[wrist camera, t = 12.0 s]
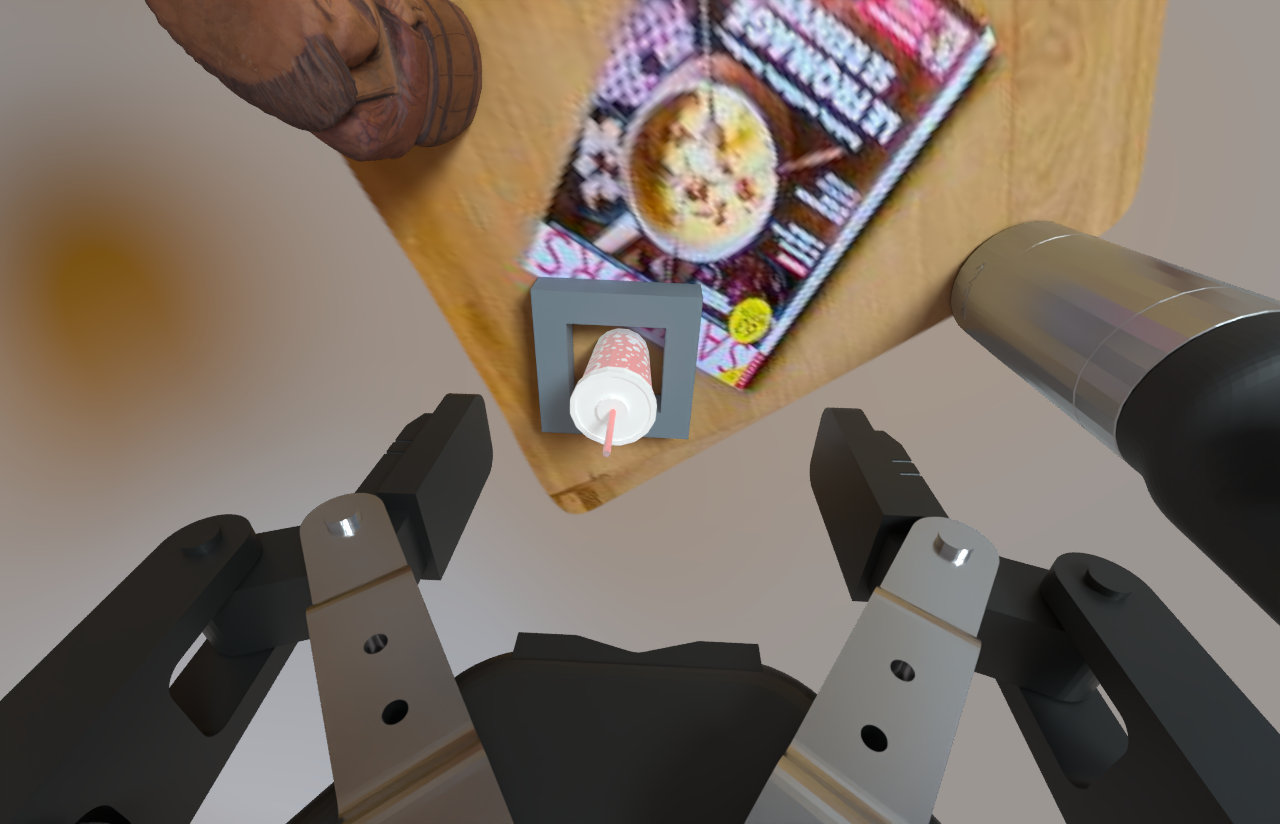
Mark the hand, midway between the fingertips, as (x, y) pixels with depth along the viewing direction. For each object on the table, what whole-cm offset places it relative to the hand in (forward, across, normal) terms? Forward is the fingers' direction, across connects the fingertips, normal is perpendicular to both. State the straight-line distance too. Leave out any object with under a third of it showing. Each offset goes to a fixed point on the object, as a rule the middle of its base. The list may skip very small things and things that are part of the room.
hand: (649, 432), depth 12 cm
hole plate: (+29, +3, +12) cm, 32 cm away
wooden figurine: (+29, +16, -10) cm, 35 cm away
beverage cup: (+29, +3, +12) cm, 32 cm away
